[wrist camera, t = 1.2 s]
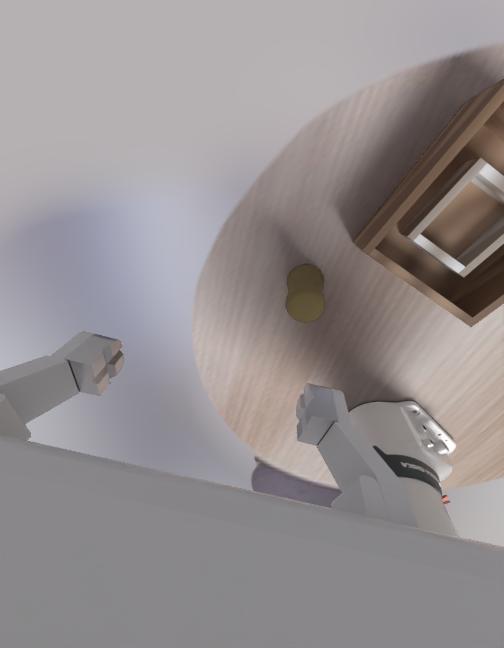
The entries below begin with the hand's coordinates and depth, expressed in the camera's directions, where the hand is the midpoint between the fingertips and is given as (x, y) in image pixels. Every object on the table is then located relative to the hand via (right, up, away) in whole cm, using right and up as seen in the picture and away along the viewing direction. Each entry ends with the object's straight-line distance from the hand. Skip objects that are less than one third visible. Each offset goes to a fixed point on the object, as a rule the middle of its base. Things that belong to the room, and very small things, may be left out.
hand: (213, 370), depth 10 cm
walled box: (+29, +16, +22) cm, 40 cm away
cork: (+11, +9, +30) cm, 33 cm away
